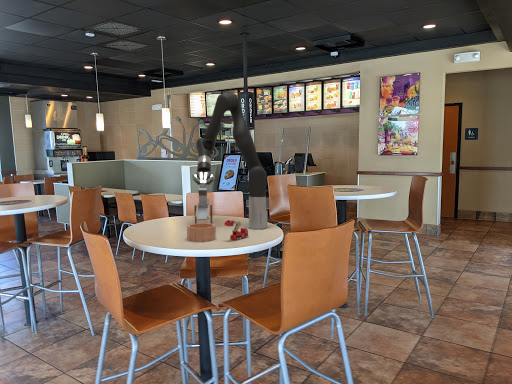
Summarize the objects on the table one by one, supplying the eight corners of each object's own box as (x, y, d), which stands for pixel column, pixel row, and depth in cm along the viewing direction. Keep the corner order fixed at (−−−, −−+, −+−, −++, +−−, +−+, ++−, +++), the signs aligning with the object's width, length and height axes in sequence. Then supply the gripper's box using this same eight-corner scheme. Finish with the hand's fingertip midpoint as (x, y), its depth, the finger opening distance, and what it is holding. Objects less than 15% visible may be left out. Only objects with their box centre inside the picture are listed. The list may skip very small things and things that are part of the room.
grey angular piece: (198, 203, 205) (197, 182, 198) (210, 203, 205) (209, 182, 198) (196, 224, 189) (194, 201, 182) (208, 223, 189) (207, 201, 183)
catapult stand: (193, 229, 205) (192, 203, 204) (215, 229, 206) (215, 203, 204) (190, 235, 191) (190, 207, 190) (214, 234, 192) (214, 206, 190)
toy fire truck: (249, 237, 186) (249, 217, 185) (229, 242, 175) (229, 221, 175) (243, 236, 188) (243, 216, 187) (224, 241, 178) (224, 220, 177)
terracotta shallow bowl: (220, 237, 185) (220, 224, 184) (203, 243, 174) (203, 229, 173) (199, 234, 191) (199, 222, 191) (181, 239, 180) (181, 226, 180)
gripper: (216, 170, 216) (215, 194, 205) (192, 170, 215) (190, 194, 204) (216, 161, 210) (215, 185, 199) (191, 160, 209) (189, 185, 198)
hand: (202, 189), depth 202 cm, fingers closed
